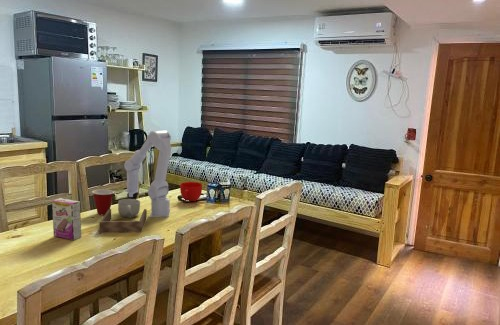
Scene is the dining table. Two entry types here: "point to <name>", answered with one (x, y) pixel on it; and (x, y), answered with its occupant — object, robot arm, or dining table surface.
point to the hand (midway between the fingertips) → (133, 206)
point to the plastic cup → (103, 200)
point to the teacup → (128, 207)
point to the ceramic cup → (191, 190)
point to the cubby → (121, 224)
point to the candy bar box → (66, 218)
